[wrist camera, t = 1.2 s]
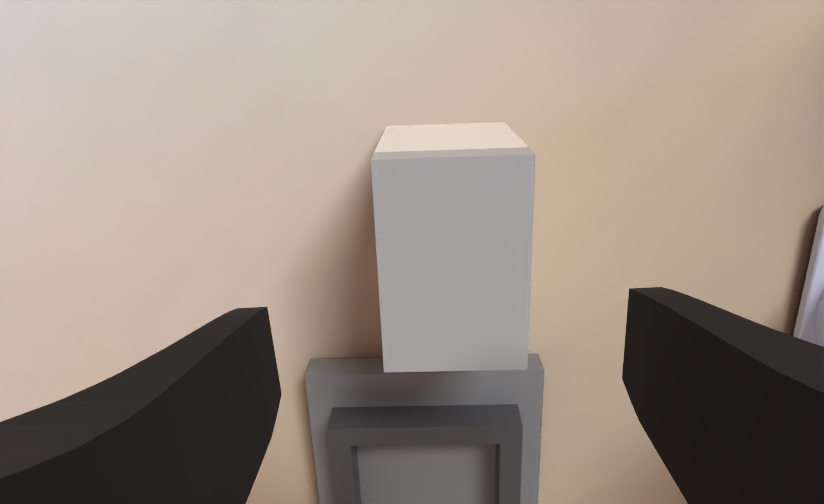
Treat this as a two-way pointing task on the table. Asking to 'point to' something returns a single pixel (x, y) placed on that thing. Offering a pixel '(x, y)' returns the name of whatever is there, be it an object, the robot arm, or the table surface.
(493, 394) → the grey rectangular tray
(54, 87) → the table surface
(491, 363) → the plug
